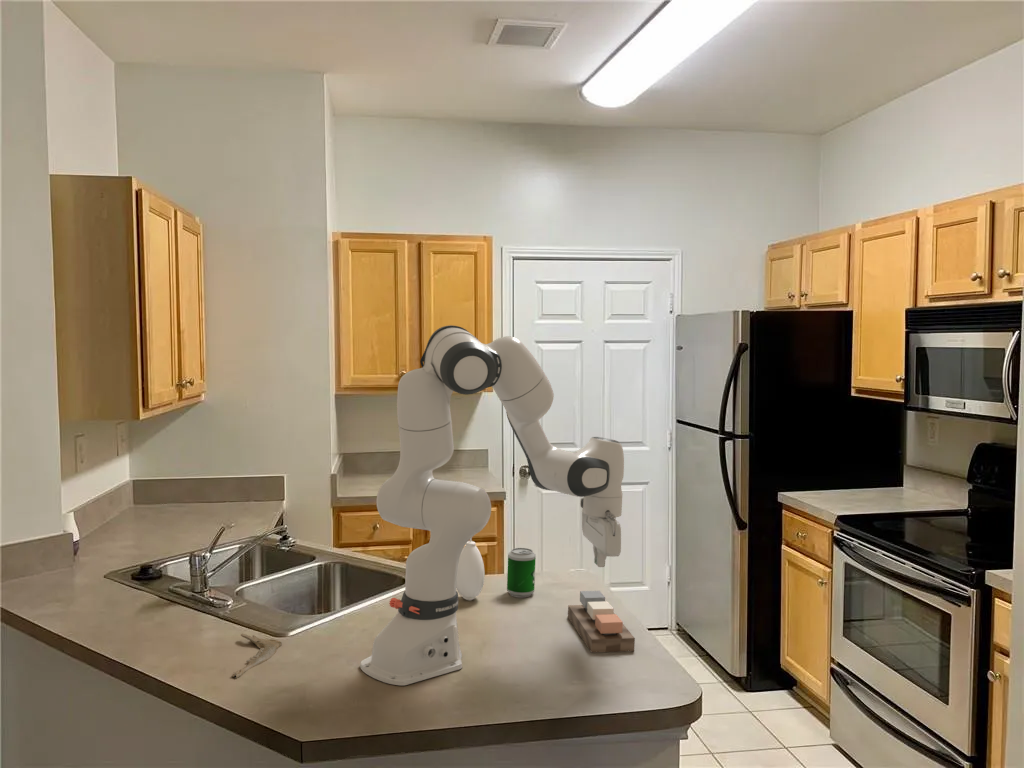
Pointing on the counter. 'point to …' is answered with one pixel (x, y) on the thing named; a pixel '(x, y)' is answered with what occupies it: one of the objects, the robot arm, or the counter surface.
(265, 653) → the jawbone
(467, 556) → the sauce bottle
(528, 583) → the soda can
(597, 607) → the ivory key
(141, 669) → the counter surface
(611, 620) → the terracotta key
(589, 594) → the slate key
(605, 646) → the keypad board
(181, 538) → the counter surface
